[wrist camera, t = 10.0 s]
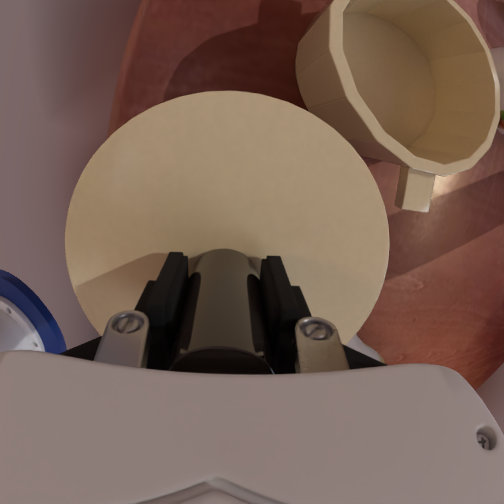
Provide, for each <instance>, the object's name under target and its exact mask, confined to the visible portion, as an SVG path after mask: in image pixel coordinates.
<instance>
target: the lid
mask: <svg viewBox="0 0 504 504" xmlns="http://www.w3.org/2000/svg"><path fill="white" fill-rule="evenodd" d="M169 252H183V255H184V256H188V272H189V280H188V284H187V287H186V291H185V295H184V299H183V303H182V307H181V311H180V315H179V319H178V323H177V327H176V331H175V335H174V340H173V344H172V348H171V353H170V357H169V362H168V366H167V371H174V372H188V373H205V374H233V375H272V374H276V370H275V364H274V359H273V353H272V348H271V342H270V337H269V331H268V325H267V320H266V314H265V309H264V303H263V298H262V292H261V287H260V270H261V261H262V259H266V257H267V255H269V256H280V257H281V259H282V262H283V265H284V267H285V270H286V273H287V276H288V278H289V281H290V284H291V286H300V288H301V291H302V293H303V295H304V298H305V300H306V303H307V305H308V308H309V310H310V313H311V315H312V317H320V318H323V319H326V320H328V321H330V322H331V323H332V324H334V325H335V327H336V328H337V330H338V333H339V336H340V339H341V343H342V344H344V345H346V344H347V343H348V342H349V341H350V340H351V339H352V338H353V336H354V335H355V334H356V333H357V332H358V331H359V329H360V328H361V326H362V325H363V324H364V322H365V321H366V319H367V318H368V316H369V315H370V313H371V311H372V309H373V307H374V305H375V303H376V301H377V299H378V297H379V294H380V291H381V288H382V286H383V283H384V279H385V275H386V270H387V266H388V257H389V227H388V220H387V215H386V211H385V206H384V202H383V200H382V197H381V194H380V191H379V189H378V186H377V184H376V182H375V180H374V178H373V176H372V174H371V172H370V171H369V169H368V167H367V165H366V164H365V162H364V161H363V160H362V158H361V157H360V156H359V154H358V153H357V152H356V151H355V149H354V148H353V147H352V145H351V144H350V143H349V142H348V141H347V140H346V139H344V138H343V137H342V136H341V135H340V134H339V133H338V132H337V131H336V130H335V129H334V128H333V127H331V126H330V125H328V124H327V123H325V122H324V121H322V120H321V119H320V118H318V117H317V116H315V115H314V114H312V113H310V112H308V111H306V110H304V109H302V108H300V107H298V106H296V105H293V104H291V103H289V102H287V101H283V100H280V99H277V98H273V97H270V96H266V95H263V94H257V93H250V92H242V91H207V92H201V93H195V94H190V95H185V96H180V97H177V98H174V99H172V100H169V101H166V102H163V103H161V104H158V105H155V106H153V107H151V108H150V109H148V110H146V111H144V112H142V113H141V114H139V115H137V116H135V117H133V118H132V119H131V120H129V121H128V122H127V123H125V124H124V125H123V126H121V127H120V128H119V129H118V130H116V131H115V132H114V133H113V134H112V135H111V136H110V137H109V138H108V139H107V140H106V141H105V142H104V143H103V144H102V145H101V147H100V148H99V149H98V150H97V151H96V152H95V154H94V155H93V157H92V158H91V160H90V161H89V163H88V164H87V166H86V167H85V169H84V170H83V172H82V174H81V176H80V178H79V181H78V183H77V185H76V187H75V189H74V192H73V195H72V198H71V202H70V205H69V209H68V213H67V220H66V227H65V254H66V262H67V268H68V273H69V276H70V280H71V283H72V287H73V290H74V292H75V294H76V297H77V299H78V301H79V303H80V306H81V307H82V309H83V311H84V313H85V314H86V316H87V317H88V319H89V321H90V322H91V324H92V325H93V326H94V328H95V329H96V330H97V332H98V333H99V334H100V335H101V336H102V335H103V333H104V330H105V328H106V325H107V322H108V321H109V319H110V318H111V317H112V316H113V315H114V314H116V313H119V312H122V311H126V310H134V309H135V307H136V305H137V303H138V300H139V298H140V296H141V294H142V292H143V290H144V288H145V286H146V284H147V282H148V281H149V280H157V277H158V275H159V273H160V271H161V269H162V267H163V265H164V263H165V260H166V258H167V256H168V254H169Z"/></svg>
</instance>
